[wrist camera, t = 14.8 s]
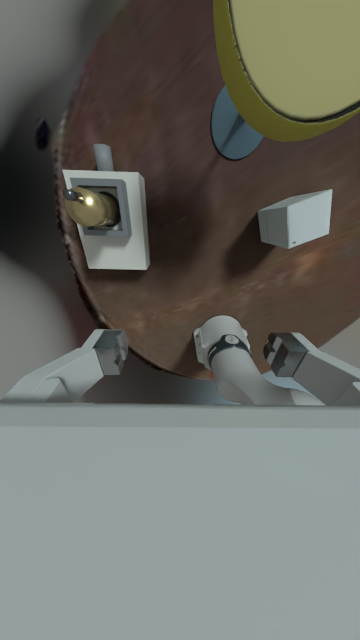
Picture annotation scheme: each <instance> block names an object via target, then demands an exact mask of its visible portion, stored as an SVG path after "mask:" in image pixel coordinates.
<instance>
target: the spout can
mask: <svg viewBox="0 0 360 640" xmlns="http://www.w3.org/2000/svg"><path fill="white" fill-rule="evenodd" d="M63 196H64V197H65V207H66V210H67V212H68V214H69V216H70V217H71V218H72V219H73V220H74V221H75V222H76V223H77V224H79V225H81V226H85V227H89V226H100V225H110V224H114V223H115V222H116V221H117V220H118V218H119V208H118V205H117V203H116V202H115V201H114V200H113V199H112V198H111V197H109V196H107V195H104V194H101V193H97V192H94V191H91V190H88V189H84V188H81V187H73V188H70V189H64V190H63Z"/></svg>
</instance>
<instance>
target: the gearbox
mask: <svg viewBox="0 0 360 640" xmlns="http://www.w3.org/2000/svg"><path fill="white" fill-rule="evenodd" d="M93 147H94V152H95V158H96V163H97V169H98V171H80V170H63V174H64V178H65V181H66V185H67V189H70V188H73V187H81V188H84V189H88V190H91V191H94V192H97V193H101V194H104V195H107V196H109V197H111V198H112V199H113V200H114V201H115V202H116V203H117V205H118V208H119V218H118V220H117V221H116V222H115V223H114V224H110V225H100V226H89V227H85V226H81V225H79V224H77V226H78V230H79V234H80V237H81V241H82V245H83V249H84V252H85V256H86V260H87V264H88V267H89V269H131V270H147V268H148V267H149V265H150V256H149V241H148V227H147V213H146V199H145V184H144V178H143V177H142V176H141V175H140V174H139V173H138V172H114V169H113V162H112V155H111V148H110V147H109V146H107V145H104V144H94V145H93Z"/></svg>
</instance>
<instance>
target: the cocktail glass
mask: <svg viewBox="0 0 360 640" xmlns="http://www.w3.org/2000/svg"><path fill="white" fill-rule="evenodd" d="M213 9H214V30H215V39H216V47H217V54H218V59H219V63H220V68H221V72H222V76H223V79H224V82H225V86H224V87H223V88H222V90H221V92H220V93H219V95H218V97H217V100H216V102H215V105H214V109H213V114H212V123H211V125H212V136H213V139H214V143H215V145H216V147H217V149H218V150H219V151H220V153H221V154H222V155H224V156H225V157H227V158H229V159H240V158H243V157H245V156H247V155H249V154H250V153H251V152H252V151H253V150H254V149H255V148H256V147H257V146H258V144H259V143H260V141H261V140H262V138H263V136H266V137H268V138H270V139H273V140H278V141H283V142H287V141H301V140H305V139H308V138H312V137H316V136H318V135H320V134H323V133H325V132H327V131H329V130H331V129H334V128H335V127H337V126H339V125H340V124H342V123H344V122H345V121H347V120H348V119H350V118H351V117H353V116H355V115H356V114H358V113H359V112H360V0H213Z"/></svg>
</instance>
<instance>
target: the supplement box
mask: <svg viewBox="0 0 360 640" xmlns="http://www.w3.org/2000/svg"><path fill="white" fill-rule="evenodd" d="M331 200H332V189H330V190H325V191H320V192H315V193H310V194H305V195H300V196H295V197H290V198H287V199H285V200H283V201H280V202H278V203H276V204H273V205H271V206H269V207H266V208H264V209H262V210H260V211H258V220H259V228H260V237H261V242H265V243H268V244H272V245H276V246H280V247H283V248H287V249H290V248H292V247H295V246H297V245H300V244H302V243H305V242H308V241H310V240H313V239H316V238H318V237H321V236H324V235H326V234H328V233H329V224H330V212H331Z"/></svg>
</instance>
